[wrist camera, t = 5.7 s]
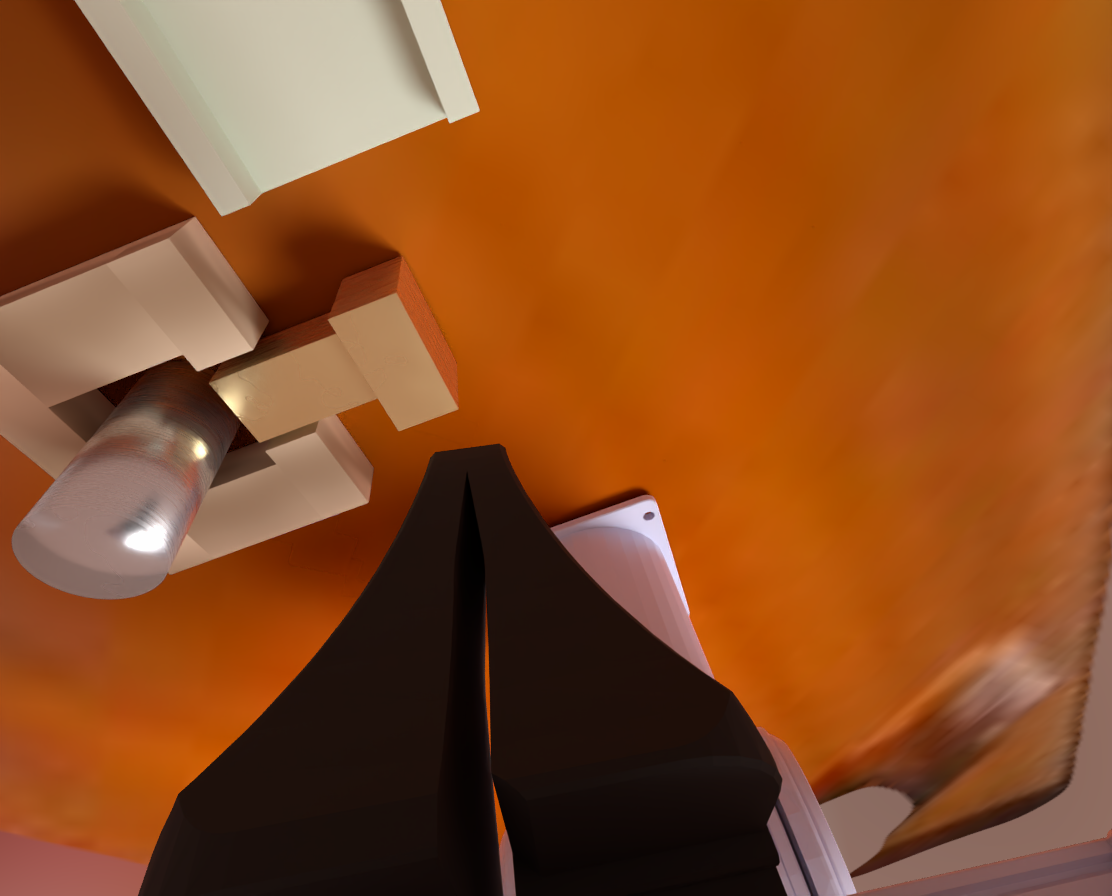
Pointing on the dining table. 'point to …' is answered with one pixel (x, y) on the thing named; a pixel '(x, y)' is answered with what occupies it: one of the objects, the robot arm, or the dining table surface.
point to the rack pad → (283, 81)
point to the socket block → (145, 341)
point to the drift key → (347, 360)
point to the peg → (130, 489)
